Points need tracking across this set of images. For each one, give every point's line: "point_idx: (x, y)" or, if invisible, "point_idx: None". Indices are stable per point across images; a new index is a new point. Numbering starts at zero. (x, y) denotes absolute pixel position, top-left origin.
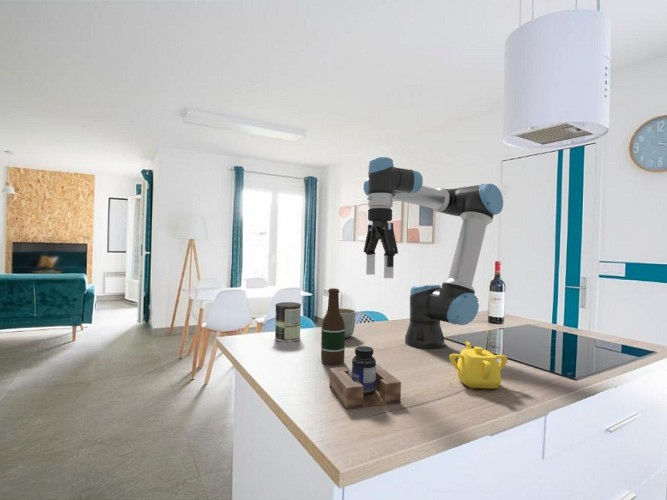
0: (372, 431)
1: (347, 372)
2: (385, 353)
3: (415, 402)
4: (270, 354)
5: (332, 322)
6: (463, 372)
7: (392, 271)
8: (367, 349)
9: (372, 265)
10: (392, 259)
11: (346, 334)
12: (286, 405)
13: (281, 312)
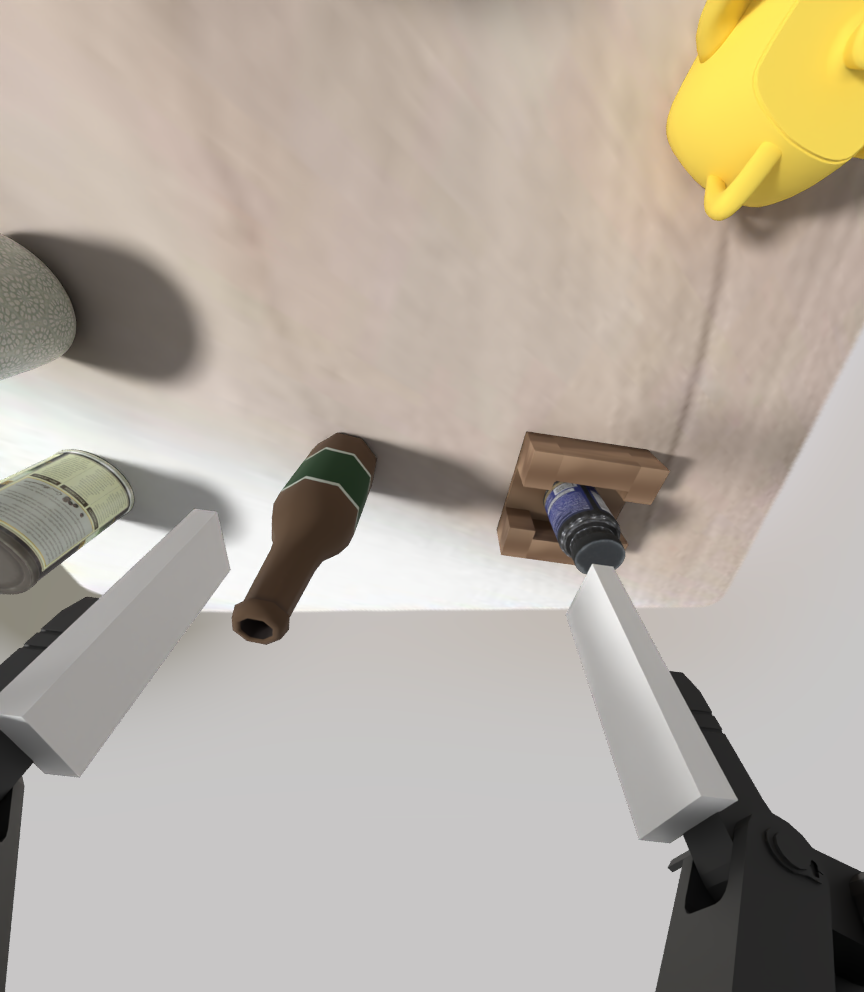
0: (685, 544)
1: (534, 529)
2: (299, 242)
3: (670, 420)
4: (255, 559)
5: (343, 546)
6: (751, 198)
7: (633, 619)
8: (611, 555)
9: (164, 599)
10: (733, 770)
11: (65, 299)
12: (529, 603)
13: (52, 569)
